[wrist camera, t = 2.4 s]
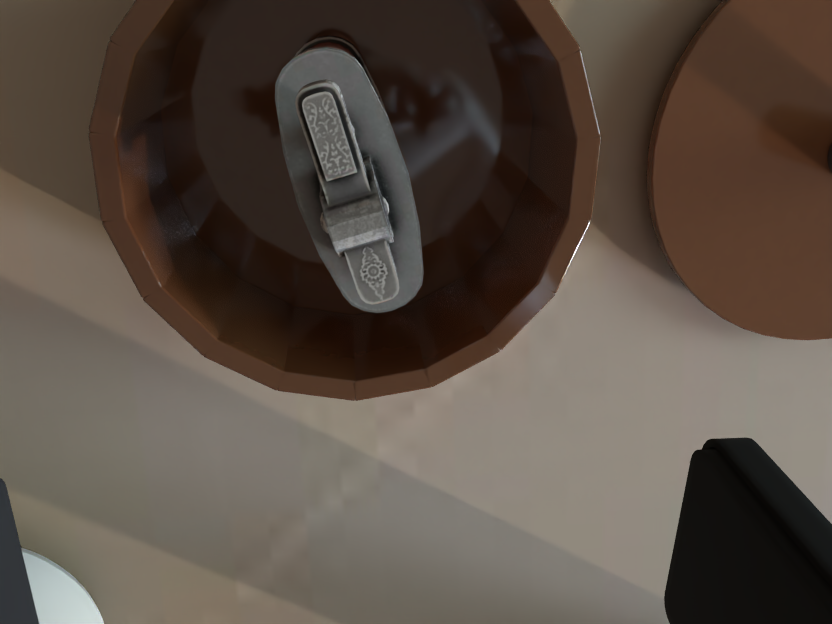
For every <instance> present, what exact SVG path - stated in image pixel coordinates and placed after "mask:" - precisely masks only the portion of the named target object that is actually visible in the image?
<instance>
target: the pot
mask: <svg viewBox="0 0 832 624" xmlns="http://www.w3.org/2000/svg"><path fill="white" fill-rule="evenodd" d="M323 36H335V37H340V38H343V39H345V40H347V41H348V42H350V43H352V44H353V45H354V47H355V48H356V49H357V50H358V52H359V53H360V55H361V57H362V59H363V61H364V63H365V65H366V67H367V69H368V71H369V73H370V75H371V77H372V79H373V81H374V83H375V85H376V87H377V89H378V91H379V94H380V96H381V99H382V102H383V104H384V107H385V110H386V113H387V115H388V118H389V121H390V124H391V126H392V129H393V132H394V135H395V138H396V140H397V143H398V146H399V149H400V151H401V154H402V157H403V159H404V162H405V165H406V168H407V170H408V173H409V178H410V182H411V187H412V192H413V197H414V201H415V206H416V211H417V216H418V220H419V225H420V237H421V249H422V261H423V280H422V285H421V287H420V289H419V290H418V292H417V294H416V296H415V297H413V298H412V299H411V300H410V301H409V302H408V303H407V304H405V305H404V306H401V307H399V308H397V309H395V310H392V311H387V312H380V313H375V312H368V311H363V310H361V309H359V308H357V307H355V306H353V305H351V304H350V303H349V301H348V300H347V299H346V298H345V297H344V296H343V294H342V293H341V291H340V289H339V287H338V286H337V284H336V282H335V281H334V279H333V277H332V276H331V274H330V272H329V271H328V269H327V267H326V265H325V264H324V262H323V260H322V259H321V257H320V255H319V253H318V251H317V249H316V246H315V244H314V242H313V239H312V237H311V235H310V232H309V230H308V228H307V226H306V223H305V221H304V219H303V216H302V214H301V212H300V210H299V207H298V204H297V201H296V197H295V193H294V190H293V186H292V182H291V179H290V175H289V172H288V168H287V164H286V161H285V157H284V153H283V147H282V141H281V134H280V128H279V121H278V115H277V108H276V102H275V87H276V82H277V79H278V77H279V75H280V73H281V71H282V69H283V68H284V67H285V66H286V65H287V64H288V63H289V62H290V61H291V60H292V59H293V58H294V57H295V55H296V53H297V52H298V51H299V50H300V49H301V48H302V47H303V46H304V45H305V44H306V43H307V42H309V41H311V40H313V39H315V38H317V37H323ZM110 40H111V41H109V42H108V46H107V50H106V55H105V59H104V63H103V68H102V72H101V77H100V81H99V86H98V90H97V94H96V99H95V103H94V108H93V112H92V116H91V121H90V125H89V131H90V132H89V142H90V149H91V155H92V162H93V169H94V176H95V183H96V190H97V197H98V204H99V211H100V217H101V220H102V221H103V222H102V223H103V226H104V228H105V230H106V232H107V233H108V235H109V237H110V239H111V241H112V243H113V245H114V247H115V248H116V250H117V252H118V254H119V256H120V258H121V260H122V262H123V263H124V265H125V267H126V269H127V271H128V273H129V275H130V276H131V278H132V280H133V282H134V284H135V286H136V288H137V290H138V291H139V293H140V295H141V297H142V298H143V300H144V301H145V302H146V303H147V304H148V305H149V306H150V307H151V308H152V309H153V310H154V311H155V312H157V313H158V314H159V315H160V316H161V317H162V318H163V319H164V320H165V321H166V322H167V323H168V324H169V325H170V326H172V327H173V328H174V329H175V330H176V331H177V332H178V333H179V334H180V335H181V336H182V337H183V338H184V339H185V340H186V341H188V342H189V343H190V344H191V345H192V346H193V347H194V348H195V349H196V350H197V351H198V352H199V353H200V354H201V355H204V357H206V358H208V359H210V360H212V361H214V362H216V363H218V364H221V365H223V366H225V367H227V368H229V369H231V370H233V371H236V372H238V373H240V374H242V375H244V376H246V377H248V378H251V379H253V380H255V381H257V382H259V383H261V384H263V385H266V386H268V387H270V388H272V389H274V390H278V391H283V392H291V393H299V394H306V395H314V396H322V397H329V398H337V399H345V400H353V401H354V400H356V401H357V400H363V399H369V398H374V397H380V396H385V395H391V394H397V393H402V392H408V391H413V390H419V389H425V388H430V387H431V386H432V387H433V386H435V385H437V384H439V383H441V382H443V381H445V380H447V379H449V378H451V377H452V376H454V375H456V374H458V373H460V372H462V371H464V370H466V369H468V368H470V367H471V366H473V365H475V364H477V363H479V362H481V361H483V360H485V359H487V358H489V357H490V356H492V355H494V354H496V353H498V352H500V350H502V349H503V348H504V347H505V346H506V345H507V344H508V343H509V342H510V341H511V340H512V339H513V338H514V337H515V336H516V335H517V334H518V333H519V332H520V331H521V330H522V328H523V327H524V326H525V325H526V324H527V323H528V322H529V321H530V320H531V319H532V318H533V317H534V316H535V315H536V314H537V313H538V312H539V311H540V310H541V309H542V308H543V307H544V306H545V305H546V304H547V303H548V302H549V301H550V300H551V299H552V298H553V297H554V296H555V293H556V292H557V290H558V288H559V286H560V284H561V282H562V280H563V278H564V276H565V273H566V271H567V269H568V267H569V265H570V263H571V261H572V259H573V257H574V255H575V253H576V251H577V249H578V246H579V244H580V242H581V240H582V238H583V236H584V234H585V232H586V230H587V228H588V226H589V224H590V220H591V219H592V211H593V203H594V194H595V185H596V177H597V168H598V160H599V151H600V142H601V136H599V135H600V129H599V125H598V121H597V116H596V112H595V108H594V104H593V99H592V95H591V91H590V86H589V82H588V78H587V74H586V69H585V65H584V61H583V56H582V52H581V50H580V46H579V45H578V43H577V42H576V40H575V39H574V37H573V36H572V34H571V33H570V31H569V30H568V28H567V27H566V25H565V23H564V22H563V20H562V19H561V17H560V16H559V14H558V13H557V11H556V10H555V8H554V7H553V5H552V4H551V2H550V1H549V0H136V1H135V2H134V4H133V5H132V7H131V8H130V10H129V11H128V12H127V14H126V15H125V17H124V18H123V20H122V21H121V22H120V24H119V25H118V27H117V28H116V30H115V31H114V33H113V34H112V35H111V37H110Z"/></svg>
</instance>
